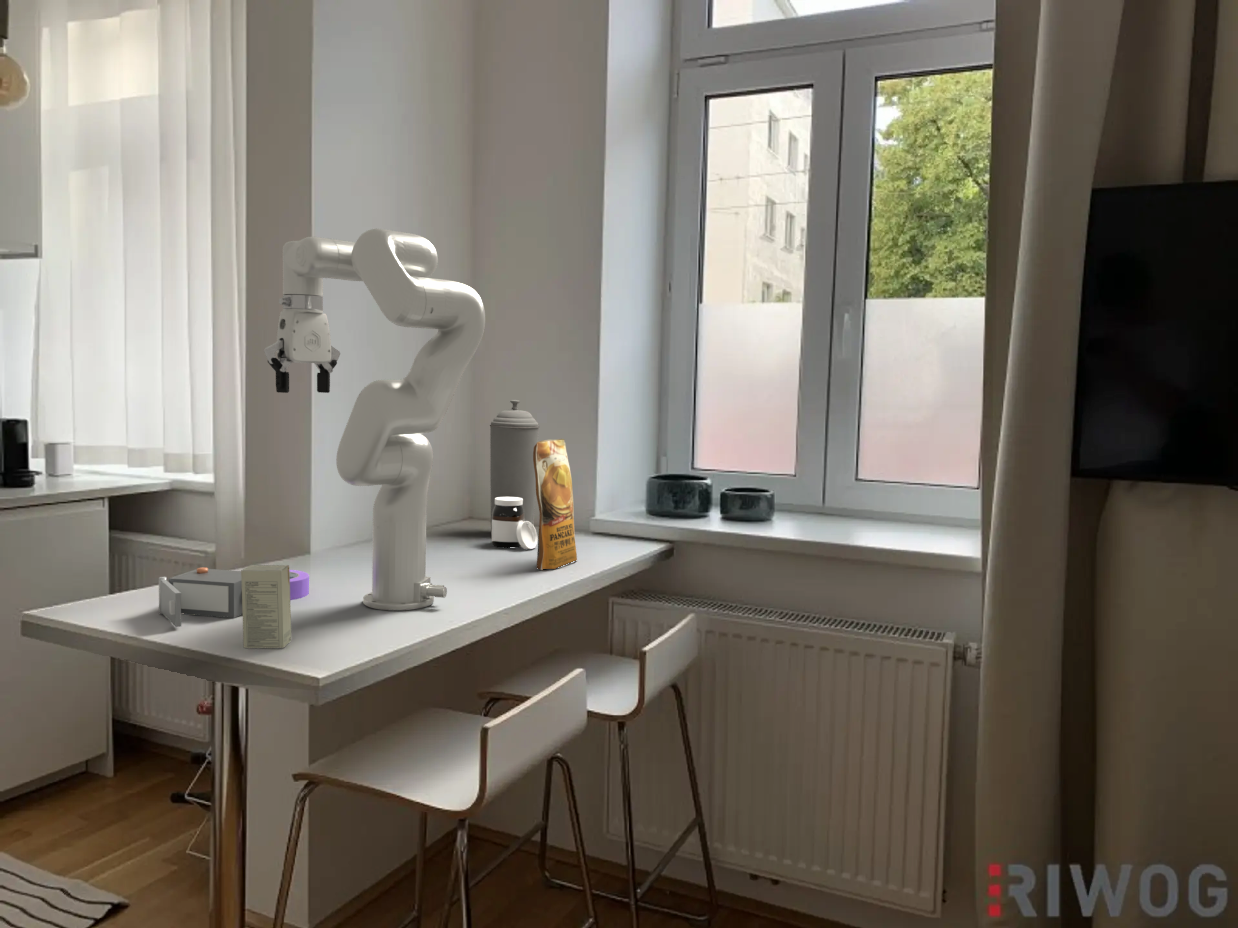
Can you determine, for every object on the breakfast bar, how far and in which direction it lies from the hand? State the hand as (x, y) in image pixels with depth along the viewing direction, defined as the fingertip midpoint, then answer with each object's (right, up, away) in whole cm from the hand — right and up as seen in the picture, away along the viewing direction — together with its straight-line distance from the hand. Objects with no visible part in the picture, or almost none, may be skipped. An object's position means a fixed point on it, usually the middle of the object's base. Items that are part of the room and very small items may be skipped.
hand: (303, 392), depth 198 cm
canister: (+35, -33, +61) cm, 78 cm away
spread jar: (+37, -35, +44) cm, 67 cm away
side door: (-12, -40, -33) cm, 54 cm away
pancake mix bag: (+48, -37, +25) cm, 65 cm away
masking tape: (-1, -39, -12) cm, 41 cm away
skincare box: (+9, -42, -45) cm, 62 cm away
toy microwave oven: (-7, -40, -25) cm, 47 cm away
